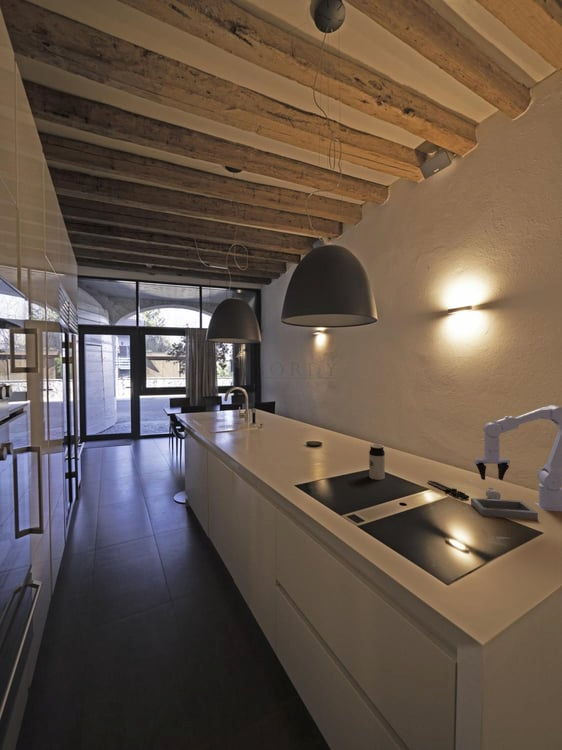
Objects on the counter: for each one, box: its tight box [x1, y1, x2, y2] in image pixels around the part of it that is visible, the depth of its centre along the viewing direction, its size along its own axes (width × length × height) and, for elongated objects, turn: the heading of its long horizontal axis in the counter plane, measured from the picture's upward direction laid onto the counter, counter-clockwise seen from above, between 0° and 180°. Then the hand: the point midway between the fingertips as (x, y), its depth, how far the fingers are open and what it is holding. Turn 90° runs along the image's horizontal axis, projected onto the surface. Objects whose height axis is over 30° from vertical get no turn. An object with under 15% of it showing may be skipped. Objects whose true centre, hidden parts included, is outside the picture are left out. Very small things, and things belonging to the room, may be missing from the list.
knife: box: [427, 480, 470, 500], centre depth 164 cm, size 25×6×1 cm, turn 10°
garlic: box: [485, 487, 501, 500], centre depth 153 cm, size 6×5×5 cm
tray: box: [470, 497, 539, 521], centre depth 139 cm, size 20×12×3 cm, turn 79°
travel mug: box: [368, 443, 386, 481], centre depth 182 cm, size 8×8×18 cm
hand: (491, 479), depth 152 cm, fingers open, 7 cm apart
